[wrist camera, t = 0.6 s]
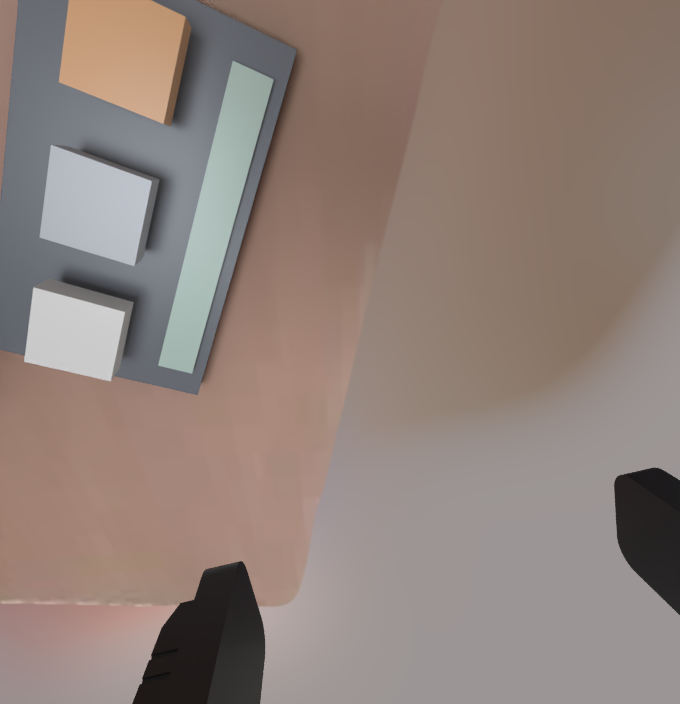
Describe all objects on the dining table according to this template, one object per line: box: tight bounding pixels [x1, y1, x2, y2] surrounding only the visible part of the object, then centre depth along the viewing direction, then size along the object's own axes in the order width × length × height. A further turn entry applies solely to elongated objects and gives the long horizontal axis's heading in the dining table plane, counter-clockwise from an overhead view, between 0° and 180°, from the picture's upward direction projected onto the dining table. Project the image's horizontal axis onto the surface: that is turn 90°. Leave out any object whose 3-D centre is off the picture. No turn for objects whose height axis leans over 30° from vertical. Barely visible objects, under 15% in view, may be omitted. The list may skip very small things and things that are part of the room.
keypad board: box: [0, 0, 297, 395], centre depth 28 cm, size 14×24×3 cm, turn 159°
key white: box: [24, 279, 134, 381], centre depth 27 cm, size 5×5×2 cm
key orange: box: [59, 0, 191, 126], centre depth 22 cm, size 5×5×2 cm
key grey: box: [40, 145, 160, 266], centre depth 25 cm, size 5×5×2 cm
